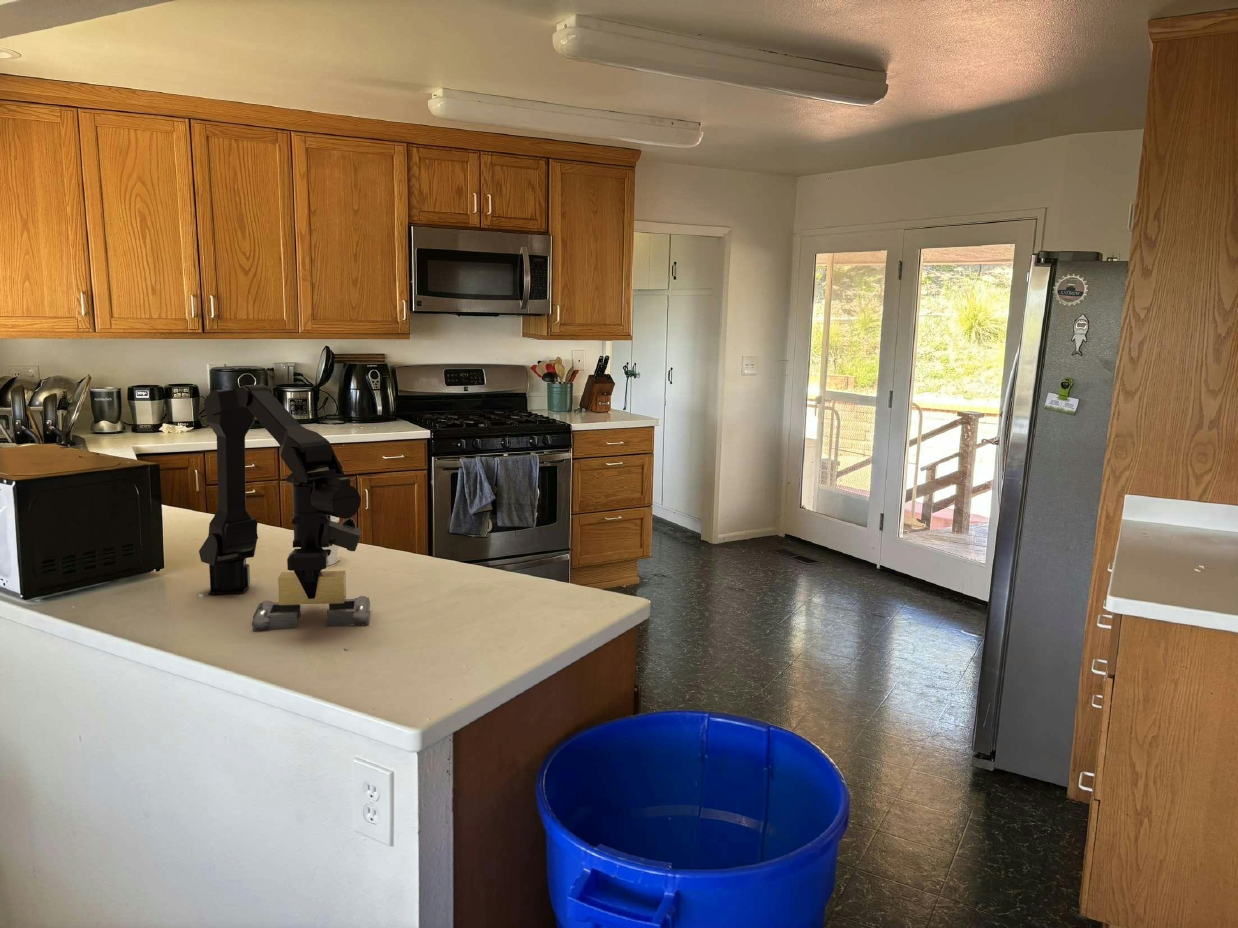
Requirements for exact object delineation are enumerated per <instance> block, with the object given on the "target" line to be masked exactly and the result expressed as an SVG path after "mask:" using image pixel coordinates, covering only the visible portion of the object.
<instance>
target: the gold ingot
mask: <svg viewBox="0 0 1238 928" xmlns="http://www.w3.org/2000/svg"><path fill="white" fill-rule="evenodd" d="M277 587H278V588H277V589H278V591H277V592H278V602H279V605H301V606H302V605H329V604H336V603H344V602H345V599H347V571H346V570H323V571H322V570H321V571H320V572H319V578H318V584H317V589H316V595H315V598H314V599H308V597H307V595H306V593H305V591H304V589H303V587H302V585H301V583H300V581H299V580H298V578H297V576H296V574H295V572H294V571H281V572H280V574H279V576H278V577H277Z"/></svg>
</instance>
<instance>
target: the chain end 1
mask: <svg viewBox="0 0 1238 928" xmlns="http://www.w3.org/2000/svg"><path fill="white" fill-rule="evenodd" d="M301 606H302V605H279V601H278V602H277V601H276V602H275V601H272V600H269V599H268V600H266V599H265V600H263V601H262V602H259V603H258V604H257V607H256V609H255V612H254V613H253V615H252V621H251V626H252V629H253V630H252V631H253V632H262V631H263V632H264V631H269V630H281V629H282V630H283V629H297V628H298V618H300V617H301V616H302V611H301V610H302V607H301Z"/></svg>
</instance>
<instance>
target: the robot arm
mask: <svg viewBox="0 0 1238 928" xmlns="http://www.w3.org/2000/svg"><path fill="white" fill-rule="evenodd" d="M203 404H204V405H203V406H204V411H205V414H206V422H207V424H208V425H209V427H210V428H211V430H212V431H213V433H214V434H215V436H216V465H217V466H216V469H217V510H216V512H215V514H214V516H213V518H212V519H211V520H210V522H209V524H208V526H209V527H208V536H207V537H206V539H205V541H204V542H203V544H202V545H201V547H200V549H199V550H198V554H199V559H200V561H201V563H205V564H207V565H209V566H208V569H209V590H208V593H207V594H208V595H213V596H214V595H232V594H244V593H245V592H246V590H247V589H248V588H249V586H250V585H251V572H250V564H249V563H247V559H249V558H254V557H255V553H256V548H257V542H258V539H259V536H258V520H257V519H256V518H253V517H252V516H251V515H250V514H249V512H248V511H247V497H246V496H247V488H246V487H247V486H246V485H247V484H246V483H247V482H246V479H247V478H246V475H247V474H246V436H247V434H248V432H250V429H251V427H253V425H254V422H255V419H256V420H257V421H258V422H259V423H260V425H262V427H263V428H264V429H265V431H267V432H268V433H269V435H270V436H271V437H272V438H273V439H274V440H275V441H276V442H277V444H278V445H279V446H280V453H279V454H280V456H279V457H280V458H281V459H282V461H283V462H284V464H285V465H286V467H287V469H289V471H290V472H291V473H290V474H289V475H288V476H286V477H285V481H286V483H290V484H292V511H293V512H292V513H293V516H292V518H291V522H292V523H291V524H292V525H293V541H292V548H294V549H293V550H292V551H291V552H290V553H289V554H288V556H287V559H286V560H287V561H286V564H287V565H286V567H287V571H289V572H295V574H296V576H297V578H298V580H299V581H300V583H301V585H302V587H303V589H304V591H305V593H306V595H307V597H308V599H314V598H315V595H316V589H317V584H318V578H319V572H320V571H322V570H323V571H324V570H325V569H327V567H328V566H329V565H328V556H329V555H330V553H331V550H330V549H323V547H329V546H332V545H336V546H338V547H340V548H343V549H345V550H347V551H349V552H356V551H357V547H358V545H359V542H360V540H361V536H362V532H363V531H362V530H361V528H360V527H357V526H356V525H357V523H356V519H353V518H352V517H354V516H355V515H356V514H357V512H359V509H360V506H361V501H362V499H361V496H360V493H359V491H358V490H357V488H356V487H355V486H353V485H351V478H349V477H345V473H344V470H343V468H344V467H343V466H342V464H341V463H340V461H339V459H338V457H337V454H336V452H335V450H334V448H333V446H332V444H331V442H330V441H329V440H328V439H327V438H325V437H324V436H323V435H321V434H320V433H319V432H318V431H317V432H316V431H314V430H311V429H309V428H306V427H304V426H303V425H302V424H300V423H299V421H298V420H297V419H296V418H295V417H294V416H293V414H291V413H290V411H288V410H287V408H286V407H285V406H283V404H282V403H281V402H280V401H279V400H278V398H276V396H274V394H273V391H272V390H271V388H270V387H269V386H268V385H265V384H249V385H246V384H245V385H242V386H240V387H237V388H234V389H233V388H232V389H213V390H211V391H209V394H208V395H206V397H205V398H204V402H203ZM331 516H334V517H338V518H339V519H343V521H342V522H340V521H339V522H338V523H337V522H333V521H331Z"/></svg>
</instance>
